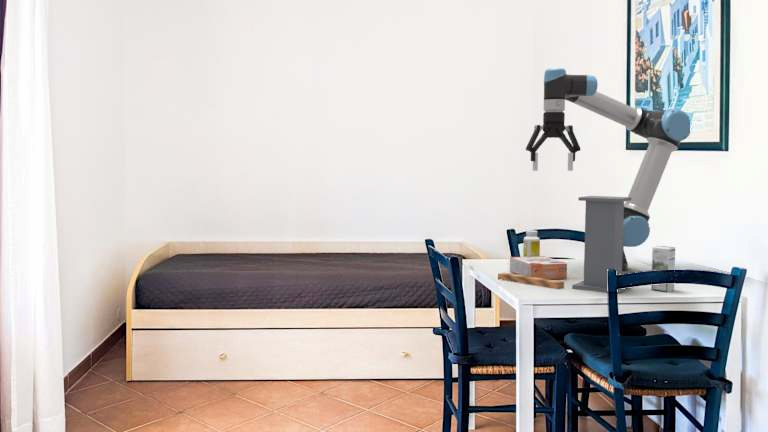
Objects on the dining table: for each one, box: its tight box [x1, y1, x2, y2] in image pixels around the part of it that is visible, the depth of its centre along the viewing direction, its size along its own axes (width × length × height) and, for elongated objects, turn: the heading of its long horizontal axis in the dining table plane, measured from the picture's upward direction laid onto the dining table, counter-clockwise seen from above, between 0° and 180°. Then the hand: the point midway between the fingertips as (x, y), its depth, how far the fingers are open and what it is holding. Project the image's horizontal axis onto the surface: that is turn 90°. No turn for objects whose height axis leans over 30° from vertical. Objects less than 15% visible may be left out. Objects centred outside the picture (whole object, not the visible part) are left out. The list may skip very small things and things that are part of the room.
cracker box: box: [509, 255, 568, 280], centre depth 291 cm, size 14×6×21 cm
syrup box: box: [650, 245, 676, 293], centre depth 261 cm, size 6×6×14 cm
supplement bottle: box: [522, 229, 541, 257], centre depth 328 cm, size 7×7×13 cm
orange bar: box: [497, 272, 565, 290], centre depth 273 cm, size 26×4×2 cm, turn 41°
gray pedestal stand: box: [571, 195, 631, 294], centre depth 263 cm, size 16×14×30 cm
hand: (552, 170), depth 286 cm, fingers open, 13 cm apart
